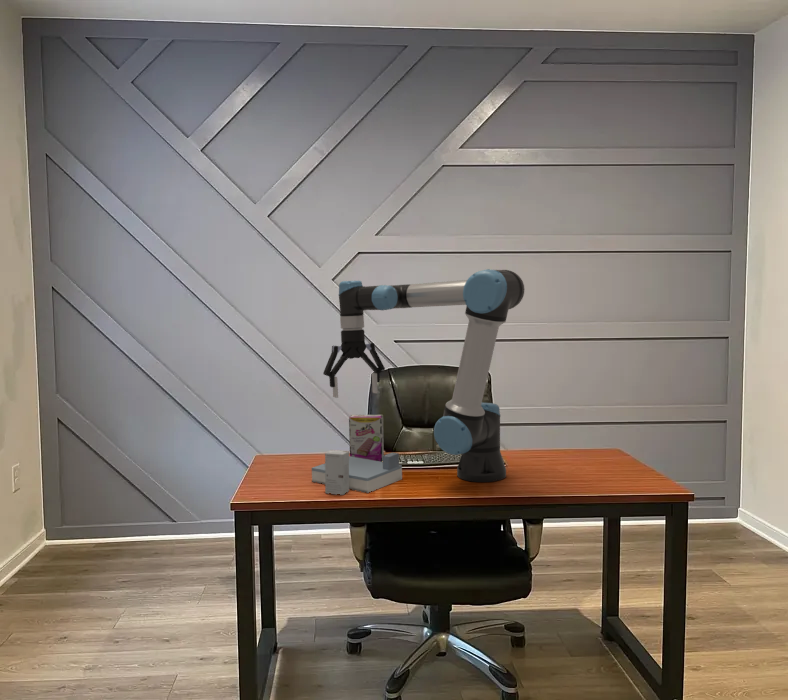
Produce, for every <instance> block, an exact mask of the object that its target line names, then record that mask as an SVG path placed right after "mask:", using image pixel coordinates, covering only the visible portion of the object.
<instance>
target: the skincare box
mask: <svg viewBox="0 0 788 700" xmlns="http://www.w3.org/2000/svg"><path fill="white" fill-rule="evenodd" d="M349 456H350V450H349V451H347V450H339V449H337V450H336V449H330V450H328V451H326V452H325V453H324V464H325V484H324V486H325V487H324V488H325V490H324V491H325V494H329V493H331V495H337V494H340V495H339V496H343V495H346V494H347V493H348V492H349V491H350V489H349ZM346 492H347V493H346ZM345 493H346V494H345Z"/></svg>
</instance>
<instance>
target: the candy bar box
mask: <svg viewBox="0 0 788 700" xmlns="http://www.w3.org/2000/svg"><path fill="white" fill-rule="evenodd" d="M348 426H349V427H348V433H349V435H348V436H349V439H348V441H349V456H350V457H356V458H362V459H368V460H374V461H380V462H382V461H383V456H384V455H385V452H384V451H385V449H384V442H385V441H384V415H383V414H350V416H349V417H348Z"/></svg>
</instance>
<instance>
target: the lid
mask: <svg viewBox="0 0 788 700" xmlns="http://www.w3.org/2000/svg"><path fill="white" fill-rule="evenodd" d="M399 456H400V454H399V452H393V451H392V452H390V453H389V452H388V454H384V456H383V462H380V461H374V460H368V459H362V458H356V457H350V455H349V478H354V479H359V480H365V481H369V480H372V479H374V478H377V477H379V476H382V475H384V474H387V473H389V472H392V471H395V470H397V469H400V468H402V469H403V466H402V464H400V459H399V458H400V457H399ZM312 471H318V472H323V473H325V463H322V464H319V465H316V466H313V467H311V472H312Z"/></svg>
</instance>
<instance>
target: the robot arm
mask: <svg viewBox="0 0 788 700" xmlns="http://www.w3.org/2000/svg"><path fill="white" fill-rule="evenodd" d="M524 295H525V284H524V282H523V279H522V278H521V277H520V275H519V274H517V273H516V272H514V271H512V270H510V269H509V270H508V269H490V268H487V269H483V270H478V271H476V272H474V273H473V274H471V275H470V276H469V277H468V278H467V279H462V280H450V281H449V280H448V281H436V282H435V281H434V282H422V283H411V284H397V285H396V284H395V285H393V284H391V285H386V284H381V285H368V286H367V285H366V286H364V285H363V282H362V281H361V280H343V281H340V282H339V284H338V303H339V311H340V312H339V314H340V317H339V318H340V321H339V322H340V329H342V330H341V331H340V341H341V345H340V346H339V345H332V346H331V353H330V356H329V358H328V361H327V362H326V366H325V367H324V370H323V375H324V376H327V377H328V378H329V387H330V388H332V394H333V395H332V397H333V398H336V399H337V398H339V388H338V387H339V386H338V376H336V375H337V373H338V372H339V371H340V369H341V368H342V366H343V365H344V364H345V363H346V361H347V360H348V359H349V360H352V359H362V360H363V361H364V362H365V363H366V365H367V366H368V367H369V369H371V371H373V372H371V388H372V389H371V391H372V394H378V393H379V391H378V390H379V389H378V388H379V387H378V384H379V383H380V382H381V381H380V379H381V378H380V373H381V372H382V371H385V369H386V368H385V365H384V364H383V361H382V360H381V358H380V356H379V354H378V353H377V350H376V345H375V343H373V342H368V343H366V342H365V341H366V339H365V338H366V337H365V336H366V335H365V330H364V329H363V328H365V318H364V317H365V316H364V311H387V310H393V309H409V308H412V309H413V308H425V307H426V308H428V307H430V308H431V307H445V306H446V307H448V306H451V307H452V306H466V307H465V312H464V314H465V315H466V317H467V319H468V324H467V329H466V332H465V337H464V344H463V347H462V351H461V356H460V361H459V366H458V370H457V374H456V380H455V384H454V387H453V388H454V389H453V394H452V398H451V399H450V400H448V401H447V402H446V403H445V406H444V409H443V416H441V417H440V418H439V419H438V420H437V421H436V422H435V425H434V426H433V438H434V440H435V443H437V445H438V447H439V449H441V450H442V451H443V452H445V453H447V454H449V455H453V456H456V455H457V456H458V455H460V458H459V462H458V465H457V468H456V471H457V472H456V474H457V477H458V479H462V480H464V481H468V482H474V483H491V482H496V481H501V480H504V479H505V478H506V477H507V468H506V464H505V462H504V459H503V456H502V453H501V414H500V413H501V412H500V406H499V405H498V404H497V403H493V402H483V398H484V394H485V389H486V386H487V381H488V378H489V371H490V368H491V363H492V359H493V355H494V350H495V345H496V343H497V342H496V341H497V338H498V337H497V336H498V332H499V327H501V326H502V325H504V324H505V323H506V321H507V317H508V313H509V310H511V309H514V308H516V307H518V305H519V304H521V302H522V301H523V298H524ZM366 349H367V350H368V351H369V354H370V356H371V357H372V359H373V360H371V358H369V356H368V354H366V352H365V351H366ZM340 351H341V352H342V354H341V355H340V356H339V359H338V360H337V361H336V359H337V356H338V354H339V353H340ZM335 361H336V363H335ZM373 361H374V362H373Z"/></svg>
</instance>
